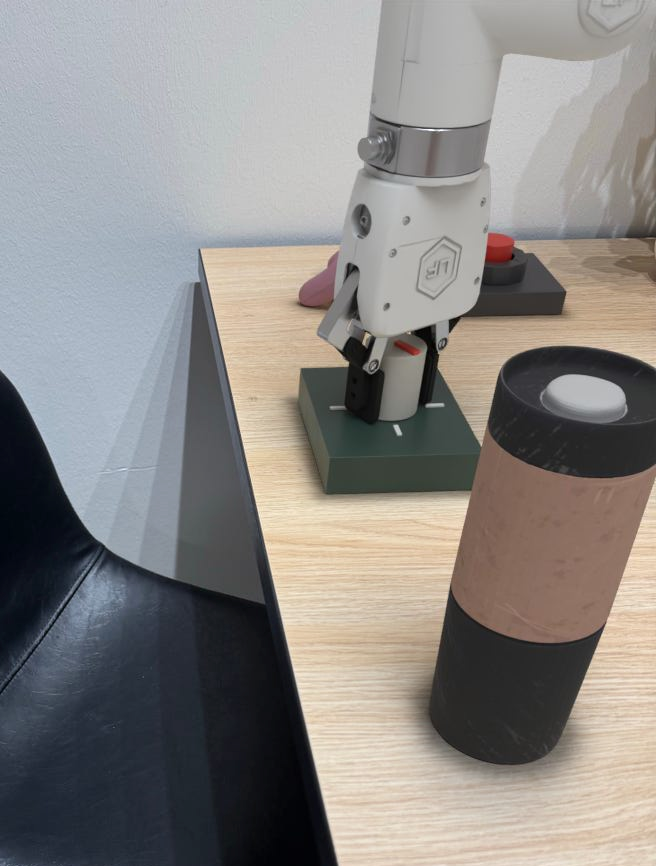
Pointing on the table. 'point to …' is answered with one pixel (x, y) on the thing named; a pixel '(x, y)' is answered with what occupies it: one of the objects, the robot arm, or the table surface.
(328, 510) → the table surface
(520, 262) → the button box
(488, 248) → the button
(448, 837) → the table surface
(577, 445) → the travel mug
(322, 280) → the pink rounded piece
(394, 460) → the panel
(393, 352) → the dial
